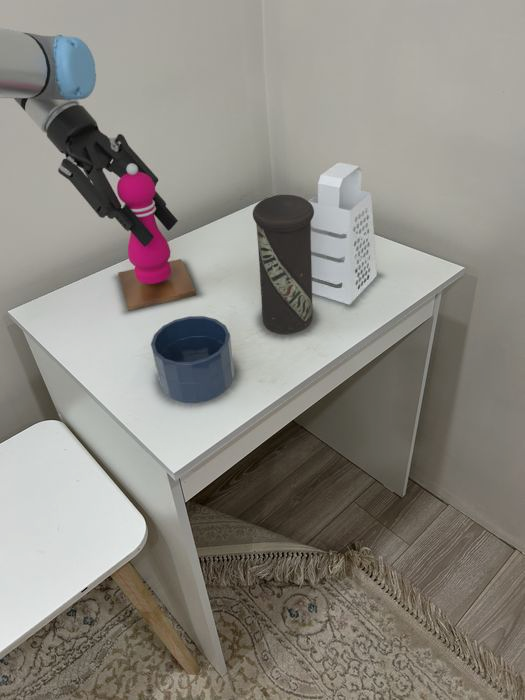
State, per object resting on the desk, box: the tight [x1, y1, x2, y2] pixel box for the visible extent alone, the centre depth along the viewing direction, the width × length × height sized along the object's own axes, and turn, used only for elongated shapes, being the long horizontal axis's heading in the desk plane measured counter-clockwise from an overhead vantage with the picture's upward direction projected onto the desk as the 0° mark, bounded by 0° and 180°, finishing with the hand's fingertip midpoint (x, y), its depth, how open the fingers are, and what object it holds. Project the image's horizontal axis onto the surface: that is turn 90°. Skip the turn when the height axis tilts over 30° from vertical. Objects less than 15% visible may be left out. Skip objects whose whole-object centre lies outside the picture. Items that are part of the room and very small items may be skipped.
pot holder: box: [117, 258, 197, 312], centre depth 98 cm, size 12×12×1 cm
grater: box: [307, 162, 378, 305], centre depth 90 cm, size 10×10×20 cm
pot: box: [150, 315, 235, 404], centre depth 76 cm, size 11×11×7 cm
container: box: [252, 194, 314, 335], centre depth 82 cm, size 9×9×20 cm
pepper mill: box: [116, 163, 171, 284], centre depth 91 cm, size 7×7×20 cm
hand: (161, 233), depth 90 cm, fingers closed on pepper mill, 5 cm apart
